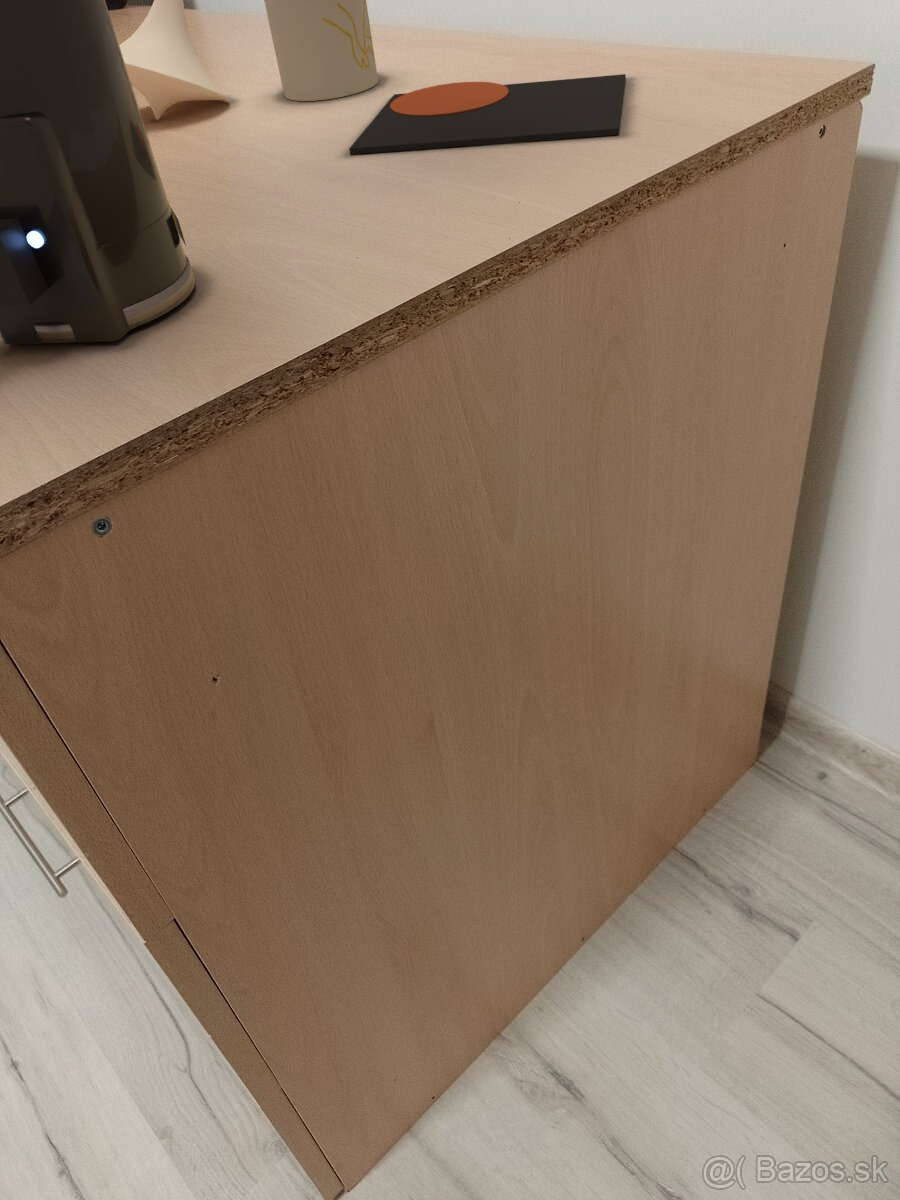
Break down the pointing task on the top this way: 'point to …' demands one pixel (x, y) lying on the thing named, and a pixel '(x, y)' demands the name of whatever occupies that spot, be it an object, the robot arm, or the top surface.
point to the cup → (322, 47)
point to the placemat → (495, 114)
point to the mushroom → (167, 60)
